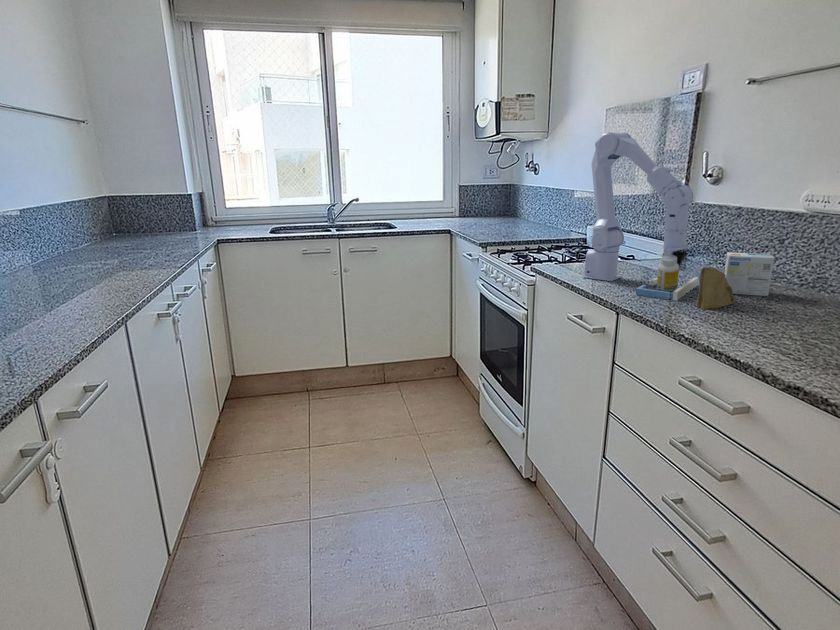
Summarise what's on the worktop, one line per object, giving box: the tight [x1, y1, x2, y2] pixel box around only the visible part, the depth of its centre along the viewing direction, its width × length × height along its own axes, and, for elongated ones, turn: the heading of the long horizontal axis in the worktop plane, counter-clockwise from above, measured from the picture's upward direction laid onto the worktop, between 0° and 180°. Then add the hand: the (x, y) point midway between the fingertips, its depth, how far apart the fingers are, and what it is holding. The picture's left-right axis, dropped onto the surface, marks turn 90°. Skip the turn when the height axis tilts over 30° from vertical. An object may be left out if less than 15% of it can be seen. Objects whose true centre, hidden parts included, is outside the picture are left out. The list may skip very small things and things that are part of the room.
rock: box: [696, 267, 736, 310], centre depth 128 cm, size 11×9×10 cm
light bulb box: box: [723, 251, 775, 297], centre depth 140 cm, size 11×7×11 cm, turn 65°
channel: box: [635, 276, 699, 302], centre depth 145 cm, size 11×21×2 cm, turn 139°
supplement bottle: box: [656, 255, 680, 292], centre depth 144 cm, size 5×5×10 cm
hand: (672, 277), depth 146 cm, fingers closed, pressing on supplement bottle
